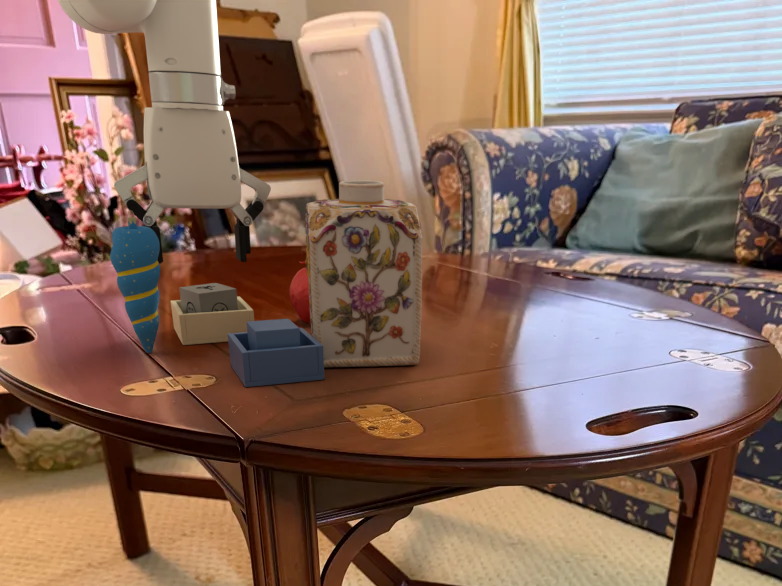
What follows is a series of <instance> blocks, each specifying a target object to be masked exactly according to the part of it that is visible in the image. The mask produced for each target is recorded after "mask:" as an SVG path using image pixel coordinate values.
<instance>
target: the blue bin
mask: <svg viewBox="0 0 782 586" xmlns="http://www.w3.org/2000/svg"><path fill="white" fill-rule="evenodd" d="M299 332H300V346H297V347H285V348H273V349H261V350H249V344H248V333H247V332H241V333H228V341H227V344H228V352H229V361H230V362H229V363H230V367H231V368H232V370H233V372H234V373H235V374H236V375H237V377H238V378H239V380H240V382H241V383H242V384H243V386H244V387H245V388H252V387H253V388H254V387H262V386H273V385H282V384H292V383H293V384H294V383H301V382H313V381H322V380H325V368H324V354H323V345H322V344H320V343H319V342H318V341H317V340H316V339H315V338H314V337H312V334H311V333H309V332H308V331H307V330H306V329H304V327H299Z"/></svg>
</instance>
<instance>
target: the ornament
mask: <svg viewBox="0 0 782 586" xmlns="http://www.w3.org/2000/svg"><path fill="white" fill-rule="evenodd" d="M130 212H131V210H129V211H128V212H127V215H128V217H126V221H127V226H126V225H125V226H118V227H115V228H114V229H113V230H112V233H111V241H112V245H111V250H110V255H109V258H110V259H109V260H110V262H111V265H112V267H113V269H114V270H115V272H116V274H117V277H116V285H117V287H118V289H119V291H120V293H121V294H122V297H123V298H124V308H125V312H126V315H127V316H128V318H129V321H130V323H131V325H132V328H133V331H134V334H135V335H136V336H137V338H138V340H139V343H140V344H141V346H142V348H143V350H144V352H145V353H147V354H151V353H153V351H154V347H155V342H156V339H157V334H158V330H159V326H160V314H159V312H158V307H159V304H160V290H159V287H158V284H159V280H160V276H161V266H160V264H159V263H158V261H157V259H158V256H159V250H160V243H159V239H158V237H157V235H156V233H155V232H154V231H153V230H152V229H151V228H149V227H145V225H144V226H142V225H138V220H137V217H136V216H135V215H134V213H132V212H133V211H132V212H131V213H132V215H133V216H130Z"/></svg>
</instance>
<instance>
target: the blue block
mask: <svg viewBox="0 0 782 586" xmlns="http://www.w3.org/2000/svg"><path fill="white" fill-rule="evenodd" d="M299 328H300V327H299V326H298V325H296V324H295V323H294V322H293V321H292V320H291V319H290V318H278V319H265V320H254V321H249V322H247V333H248V344H249V350H261V349H273V348H285V347H297V346H300V332H299Z"/></svg>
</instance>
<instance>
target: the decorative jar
mask: <svg viewBox="0 0 782 586" xmlns="http://www.w3.org/2000/svg"><path fill="white" fill-rule="evenodd" d="M304 227H305V235H306V237H305V242H306V251H305V260H304V261H305V262H306V264H305V267H306V270H307V275H308V283H309V304H310V319H311V325H310V326H311V327H310V330H311V336H312V337H314V338H315V339H316V340H317V341H318V342H319V343H320V344H322V345H323V354H324V369H325V368H357V367H358V368H363V367H397V366H398V367H399V366H400V367H401V366H417V365H418V364H419V363H420V355H421V331H422V330H421V327H422V283H423V282H422V281H423V280H422V279H423V278H422V277H423V274H422V273H423V269H422V268H423V267H422V266H423V264H422V262H423V257H422V256H423V245H422V242H423V241H422V240H423V237H424V235H423V232H422V223H421V221H420V219H419V211H418V208H417V206H416V205H415V204H414V203H411V202H407V201H404V200H400V199H394V198H393V199H391V198H385V182H383V181H380V180H373V179H372V180H371V179H350V180H342V181H340V182H339V183H338V198H328V199H326V198H324V199H317V200H316V201H311V202H307V203H306V206H305V215H304Z"/></svg>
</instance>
